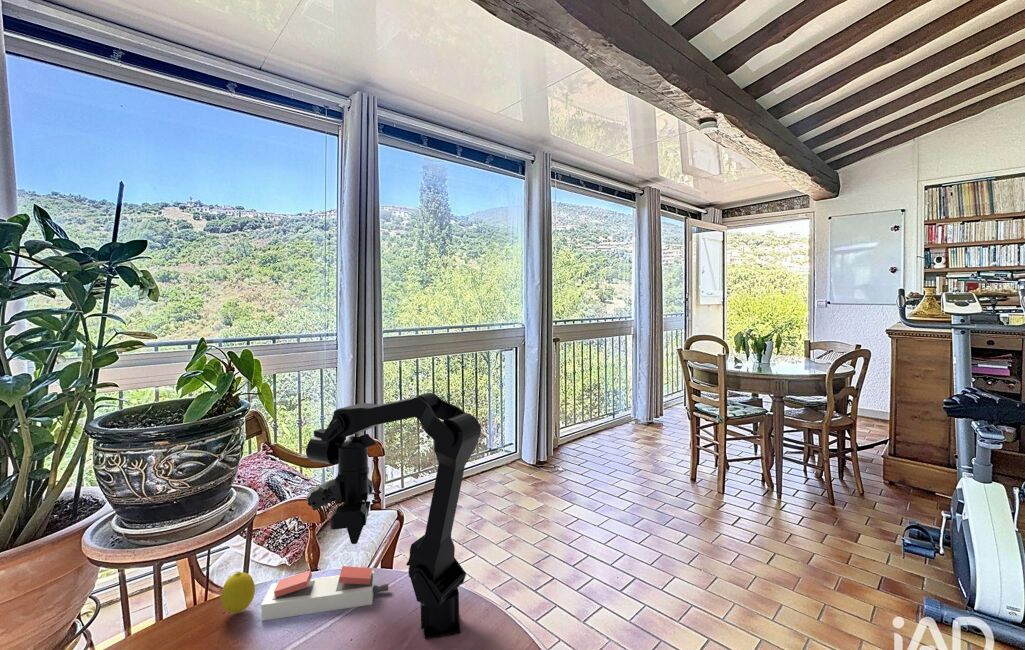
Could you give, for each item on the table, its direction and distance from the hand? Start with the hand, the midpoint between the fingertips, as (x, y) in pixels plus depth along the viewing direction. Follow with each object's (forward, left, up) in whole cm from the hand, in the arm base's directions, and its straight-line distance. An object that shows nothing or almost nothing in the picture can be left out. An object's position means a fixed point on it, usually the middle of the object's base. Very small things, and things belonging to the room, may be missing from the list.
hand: (354, 543), depth 93 cm
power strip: (+5, 0, -11) cm, 12 cm away
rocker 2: (0, 0, -7) cm, 7 cm away
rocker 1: (+11, 0, -7) cm, 14 cm away
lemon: (+21, 0, -11) cm, 24 cm away
